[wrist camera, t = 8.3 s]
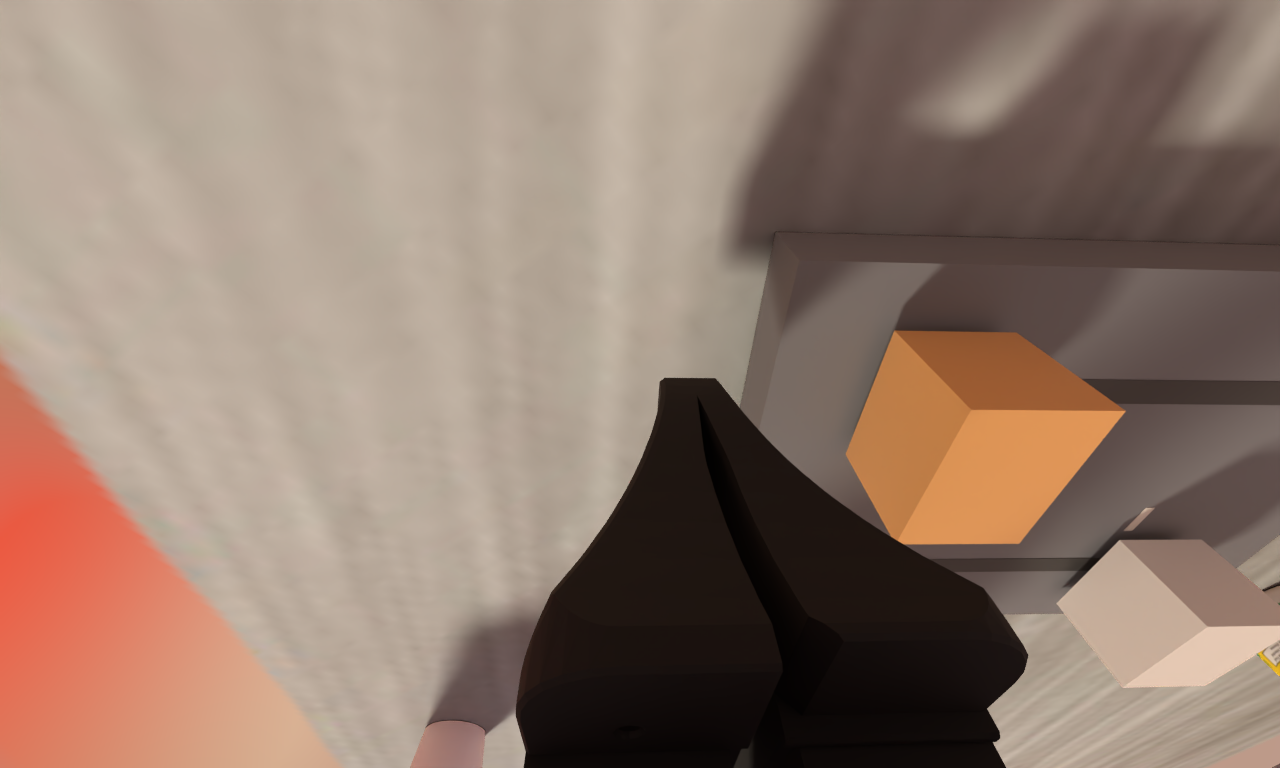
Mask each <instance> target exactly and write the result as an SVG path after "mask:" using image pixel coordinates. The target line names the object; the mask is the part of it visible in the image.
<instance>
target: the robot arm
mask: <svg viewBox="0 0 1280 768" xmlns="http://www.w3.org/2000/svg"><path fill="white" fill-rule="evenodd" d="M1027 658H1028V654H1027V652H1026V650H1025V648H1024V646H1023V644H1022V643H1021V641H1020V640H1019V638H1018V637H1017V635H1016V634H1015V632H1014V631H1013V629H1012V628H1011V626H1010V625H1009V623H1008V622H1007V620H1006V619H1005V617H1004V616H1003V614H1002V613H1001V611H1000V610H999V608H998V607H997V606H996V604H995V603H994V601H993V600H992V598H991V597H990V596H989V595H988V593H987V592H986V591H985V589H984V588H983V587H981V586H979V585H977V584H975V583H973V582H971V581H970V580H968V579H966V578H964V577H962V576H960V575H958V574H956V573H954V572H953V571H951V570H949V569H947V568H945V567H943V566H941V565H939V564H937V563H935V562H934V561H932V560H930V559H928V558H926V557H924V556H922V555H921V554H919V553H917V552H915V551H914V550H912V549H910V548H909V547H907V546H906V545H904V544H902V543H901V542H899V541H897V540H896V539H894V538H892V537H891V536H889V535H887V534H886V533H884V532H883V531H881V530H879V529H878V528H876V527H875V526H873V525H872V524H870V523H869V522H867V521H866V520H864V519H863V518H861V517H860V516H858V515H857V514H856V513H854V512H853V511H851V510H850V509H849V508H847V507H846V506H844V505H843V504H841V503H840V502H839V501H837V500H836V499H835V498H833V497H832V496H831V495H829V494H828V493H827V492H825V491H824V490H823V489H822V488H820V487H819V486H818V485H817V484H816V483H814V482H813V481H812V480H811V479H810V478H808V477H807V476H806V475H805V474H803V473H802V472H801V471H800V470H799V469H798V468H797V467H795V466H794V465H793V464H792V463H791V462H790V461H789V460H788V459H787V458H786V457H785V456H784V455H783V454H782V453H781V452H779V451H778V450H777V449H776V448H775V447H774V446H773V445H772V444H771V442H770V441H769V440H768V439H767V438H766V437H765V436H764V435H763V434H762V433H761V432H760V431H759V430H758V428H757V427H756V426H755V425H754V424H753V423H752V422H751V421H750V420H749V418H748V417H747V416H746V415H745V414H744V413H743V411H742V410H741V409H740V408H739V407H738V405H737V404H736V403H735V402H734V400H733V399H732V398H731V397H730V395H729V394H728V393H727V392H726V390H725V389H724V388H723V387H722V385H721V384H720V383H719V382H718V381H717V380H716V379H715V378H664V379H663V380H661V381H660V385H659V399H658V413H657V416H656V419H655V423H654V426H653V430H652V433H651V436H650V438H649V441H648V443H647V446H646V449H645V451H644V454H643V456H642V458H641V461H640V463H639V465H638V467H637V469H636V471H635V474H634V476H633V477H632V479H631V481H630V483H629V485H628V487H627V489H626V491H625V492H624V494H623V496H622V498H621V499H620V501H619V503H618V504H617V506H616V508H615V509H614V511H613V513H612V514H611V516H610V517H609V519H608V520H607V522H606V523H605V525H604V526H603V528H602V529H601V530H600V532H599V533H598V535H597V536H596V537H595V539H594V540H593V542H592V543H591V544H590V546H589V547H588V549H587V550H586V551H585V553H584V554H583V555H582V556H581V558H580V559H579V560H578V561H577V563H576V564H575V565H574V566H573V567H572V569H571V570H570V571H569V572H568V573H567V574H566V576H565V577H564V578H563V579H562V580H561V582H560V583H559V584H558V585H557V586H556V587H555V589H554V590H553V591H552V592H551V594H550V597H549V599H548V601H547V603H546V605H545V607H544V610H543V612H542V614H541V616H540V618H539V621H538V623H537V626H536V628H535V630H534V633H533V635H532V638H531V641H530V644H529V646H528V649H527V653H526V656H525V659H524V663H523V667H522V671H521V677H520V684H519V690H518V697H517V704H516V718H517V722H518V725H519V729H520V732H521V736H522V739H523V743H524V746H525V750H526V755H525V763H524V768H1006V767H1005V765H1004V763H1003V761H1002V759H1001V757H1000V755H999V753H998V752H997V750H996V748H995V746H994V744H993V742H996V741H998V740H999V739H1000V732H999V730H998V728H997V726H996V724H995V723H994V721H993V719H992V717H991V715H990V714H989V712H988V710H987V708H988V707H989V706H990V705H991V704H992V703H994V702H995V701H996V700H997V699H998V698H999V697H1000V696H1001V695H1002V694H1003V693H1004V692H1006V691H1007V690H1008V689H1009V688H1010V687H1011V686H1012V685H1013V684H1014V683H1015V682H1016V681H1017V680H1018V679H1019V677H1020V676H1021V675H1022V674H1023V673H1024V670H1025V667H1026V663H1027ZM1272 768H1280V764H1278V765H1276V766H1274V767H1272Z"/></svg>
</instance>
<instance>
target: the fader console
mask: <svg viewBox="0 0 1280 768" xmlns="http://www.w3.org/2000/svg"><path fill="white" fill-rule="evenodd" d="M894 331H954V332H1016V333H1018V334H1019V335H1021V336H1022V337H1023V338H1025V339H1026V340H1028V341H1029V342H1030V343H1032V344H1033V345H1035V346H1036V347H1037V348H1039V349H1040V350H1042V351H1043V352H1044V353H1046V354H1047V355H1049V356H1050V357H1051V358H1053V359H1054V360H1055V361H1057V362H1058V363H1060V364H1061V365H1062V366H1064V367H1065V368H1067V369H1068V370H1069V371H1071V372H1072V373H1074V374H1075V375H1076V376H1078V377H1079V378H1081V379H1082V380H1083V381H1085V382H1086V383H1088V384H1089V385H1090V386H1092V387H1093V388H1095V389H1096V390H1097V391H1099V392H1100V393H1102V394H1103V395H1104V396H1106V397H1107V398H1108V399H1110V400H1111V401H1113V402H1114V403H1115V404H1117V405H1118V406H1120V407H1121V408H1122V409H1124V410H1125V411H1126V412H1125V413H1124V414H1123V415H1122V417H1121V418H1120V419H1119V420H1118V421H1117V423H1116V424H1115V425H1114V426H1113V428H1112V429H1111V430H1110V431H1109V433H1108V434H1107V435H1106V436H1105V438H1104V439H1103V440H1102V441H1101V443H1100V444H1099V445H1098V446H1097V448H1096V449H1095V450H1094V451H1093V453H1092V454H1091V455H1090V456H1089V458H1088V459H1087V460H1086V461H1085V462H1084V464H1083V465H1082V466H1081V467H1080V469H1079V470H1078V471H1077V472H1076V474H1075V475H1074V476H1073V477H1072V479H1071V480H1070V481H1069V482H1068V484H1067V485H1066V486H1065V487H1064V489H1063V490H1062V491H1061V492H1060V494H1059V495H1058V496H1057V497H1056V499H1055V500H1054V501H1053V502H1052V504H1051V505H1050V506H1049V507H1048V508H1047V510H1046V511H1045V512H1044V513H1043V515H1042V516H1041V517H1040V518H1039V520H1038V521H1037V522H1036V523H1035V525H1034V526H1033V527H1032V528H1031V530H1030V531H1029V532H1028V533H1027V535H1026V536H1025V537H1024V538H1023V540H1022V541H1021V542H1020V543H1019V544H904V545H906V546H907V547H909V548H910V549H912V550H914V551H915V552H917V553H919V554H921V555H922V556H924V557H926V558H928V559H930V560H932V561H934V562H935V563H937V564H939V565H941V566H943V567H945V568H947V569H949V570H951V571H953V572H954V573H956V574H958V575H960V576H962V577H964V578H966V579H968V580H970V581H971V582H973V583H975V584H977V585H979V586H981V587H983V588H984V589H985V591H986V592H987V593H988V595H989V596H990V597H991V598H992V600H993V601H994V603H995V604H996V606H997V607H998V608H999V610H1000V611H1001V613H1002V614H1064V613H1063V611H1062V610H1061V609H1060V608H1059V606H1058V605H1057V604H1056V603H1057V602H1058V601H1059V600H1060V599H1061V598H1062V597H1063V596H1064V595H1065V594H1066V593H1067V592H1068V591H1069V590H1070V589H1071V588H1072V587H1073V586H1074V585H1075V584H1076V583H1077V582H1078V581H1079V580H1080V579H1081V578H1082V577H1083V576H1084V575H1085V574H1086V573H1087V572H1088V571H1089V570H1090V569H1091V568H1092V567H1093V566H1094V565H1095V564H1096V563H1097V562H1098V561H1099V560H1100V559H1101V558H1102V557H1103V556H1104V555H1105V554H1106V553H1107V552H1108V551H1109V550H1110V549H1111V548H1112V547H1113V546H1114V545H1115V544H1116V543H1117V542H1118V541H1119V540H1203V541H1204V542H1205V543H1206V544H1207V545H1209V546H1210V547H1211V548H1212V549H1213V550H1215V551H1216V552H1217V553H1218V554H1219V555H1221V556H1222V557H1223V558H1224V559H1225V560H1226V561H1228V562H1229V563H1230V564H1231V565H1232V566H1234V567H1235V568H1237V567H1239V566H1240V565H1241V564H1243V563H1244V562H1245V561H1246V560H1248V559H1249V558H1250V557H1252V556H1253V555H1254V554H1255V553H1257V552H1258V551H1259V550H1261V549H1262V548H1263V547H1265V546H1266V545H1267V544H1268V543H1270V542H1271V541H1272V540H1274V539H1275V538H1276V537H1278V536H1279V535H1280V245H1256V244H1218V243H1180V242H1142V241H1104V240H1065V239H1027V238H989V237H951V236H913V235H875V234H836V233H798V232H775V237H774V242H773V247H772V252H771V257H770V261H769V266H768V271H767V276H766V281H765V286H764V291H763V296H762V301H761V306H760V311H759V316H758V321H757V326H756V331H755V336H754V341H753V346H752V351H751V356H750V361H749V366H748V371H747V376H746V381H745V386H744V391H743V395H742V400H741V405H740V409H741V410H742V411H743V413H744V414H745V415H746V416H747V417H748V418H749V420H750V421H751V422H752V423H753V424H754V425H755V426H756V427H757V428H758V430H759V431H760V432H761V433H762V434H763V435H764V436H765V437H766V438H767V439H768V440H769V441H770V442H771V444H772V445H773V446H774V447H775V448H776V449H777V450H778V451H779V452H781V453H782V454H783V455H784V456H785V457H786V458H787V459H788V460H789V461H790V462H791V463H792V464H793V465H794V466H795V467H797V468H798V469H799V470H800V471H801V472H802V473H803V474H805V475H806V476H807V477H808V478H810V479H811V480H812V481H813V482H814V483H816V484H817V485H818V486H819V487H820V488H822V489H823V490H824V491H825V492H827V493H828V494H829V495H831V496H832V497H833V498H835V499H836V500H837V501H839V502H840V503H841V504H843V505H844V506H846V507H847V508H849V509H850V510H851V511H853V512H854V513H856V514H857V515H858V516H860V517H861V518H863V519H864V520H866V521H867V522H869V523H870V524H872V525H873V526H875V527H876V528H878V529H879V530H881V531H883V532H884V533H886V534H887V535H889V536H891V535H890V534H889V532H888V530H887V528H886V526H885V525H884V523H883V521H882V519H881V517H880V516H879V514H878V512H877V510H876V508H875V507H874V505H873V503H872V501H871V499H870V498H869V496H868V494H867V492H866V490H865V489H864V487H863V485H862V483H861V481H860V480H859V478H858V476H857V474H856V472H855V471H854V469H853V467H852V465H851V463H850V462H849V460H848V458H847V456H846V452H847V449H848V447H849V444H850V442H851V439H852V437H853V434H854V432H855V429H856V426H857V424H858V421H859V419H860V416H861V414H862V411H863V409H864V406H865V404H866V401H867V399H868V396H869V393H870V391H871V388H872V386H873V383H874V381H875V378H876V376H877V373H878V371H879V368H880V365H881V363H882V360H883V358H884V355H885V353H886V350H887V348H888V345H889V343H890V340H891V338H892V335H893V332H894Z"/></svg>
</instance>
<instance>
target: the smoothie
mask: <svg viewBox="0 0 1280 768" xmlns="http://www.w3.org/2000/svg"><path fill="white" fill-rule="evenodd" d="M484 742H485V731H484V729H483V728H481V727H480V726H478V725H476V724H473V723H469V722H464V721H440V722H436V723H432V724H430V725H429V726H427V727H426V729H425V731H424V734H423V736H422V739H421V741H420V744H419V746H418V749H417V751H416V754H415V756H414V759H413V761H412V764H411V766H410V768H482V764H483V753H484Z"/></svg>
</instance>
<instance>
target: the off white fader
mask: <svg viewBox="0 0 1280 768" xmlns="http://www.w3.org/2000/svg"><path fill="white" fill-rule="evenodd" d="M1056 604H1057V605H1058V606H1059V608H1060V609H1061V610H1062V611H1063V613H1064V614H1065V615H1066V616H1067V618H1068V619H1069V620H1070V622H1071V623H1072V624H1073V625H1074V627H1075V628H1076V629H1077V630H1078V632H1079V633H1080V634H1081V636H1082V637H1083V638H1084V639H1085V641H1086V642H1087V643H1088V644H1089V646H1090V647H1091V648H1092V650H1093V651H1094V652H1095V653H1096V655H1097V656H1098V657H1099V658H1100V660H1101V661H1102V662H1103V664H1104V665H1105V666H1106V667H1107V669H1108V670H1109V671H1110V672H1111V674H1112V675H1113V676H1114V678H1115V679H1116V680H1117V681H1118V683H1119V684H1120V685H1121V686H1122V688H1126V687H1172V686H1205V685H1207V684H1209V683H1210V682H1212V681H1214V680H1215V679H1217V678H1218V677H1220V676H1222V675H1223V674H1225V673H1227V672H1228V671H1230V670H1231V669H1233V668H1235V667H1236V666H1238V665H1240V664H1241V663H1243V662H1244V661H1246V660H1248V659H1249V658H1251V657H1253V656H1254V655H1256V654H1257V653H1259V652H1261V651H1262V650H1264V649H1266V648H1267V647H1269V646H1270V645H1272V644H1274V643H1275V642H1277V641H1279V640H1280V605H1279V604H1277V603H1276V602H1275V601H1274V600H1273V599H1271V598H1270V597H1269V596H1268V595H1267V594H1265V593H1264V592H1263V591H1262V590H1261V589H1260V588H1258V587H1257V586H1256V585H1255V584H1254V583H1252V582H1251V581H1250V580H1249V579H1248V578H1247V577H1245V576H1244V575H1243V574H1242V573H1241V572H1239V571H1238V570H1237V569H1236V568H1235V567H1234V566H1232V565H1231V564H1230V563H1229V562H1228V561H1226V560H1225V559H1224V558H1223V557H1222V556H1221V555H1219V554H1218V553H1217V552H1216V551H1215V550H1213V549H1212V548H1211V547H1210V546H1209V545H1207V544H1206V543H1205V542H1204V541H1203V540H1119V541H1118V542H1117V543H1116V544H1115V545H1114V546H1113V547H1112V548H1111V549H1110V550H1109V551H1108V552H1107V553H1106V554H1105V555H1104V556H1103V557H1102V558H1101V559H1100V560H1099V561H1098V562H1097V563H1096V564H1095V565H1094V566H1093V567H1092V568H1091V569H1090V570H1089V571H1088V572H1087V573H1086V574H1085V575H1084V576H1083V577H1082V578H1081V579H1080V580H1079V581H1078V582H1077V583H1076V584H1075V585H1074V586H1073V587H1072V588H1071V589H1070V590H1069V591H1068V592H1067V593H1066V594H1065V595H1064V596H1063V597H1062V598H1061V599H1060V600H1059V601H1058V602H1057V603H1056Z"/></svg>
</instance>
